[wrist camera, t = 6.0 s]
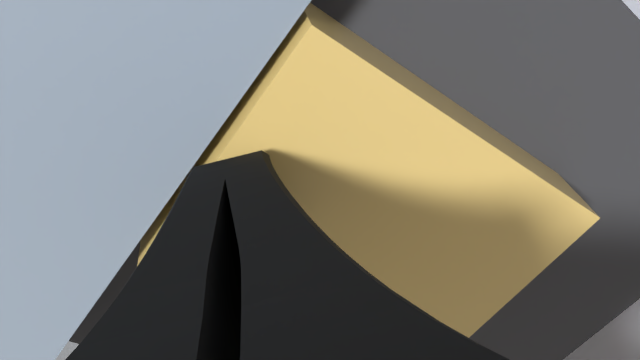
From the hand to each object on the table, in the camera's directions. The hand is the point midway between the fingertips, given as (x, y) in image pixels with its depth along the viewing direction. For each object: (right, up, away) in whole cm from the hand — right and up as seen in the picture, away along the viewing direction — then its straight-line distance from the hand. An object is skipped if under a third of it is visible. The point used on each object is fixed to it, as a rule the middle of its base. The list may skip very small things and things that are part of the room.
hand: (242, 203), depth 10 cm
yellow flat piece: (+2, 0, +3) cm, 4 cm away
